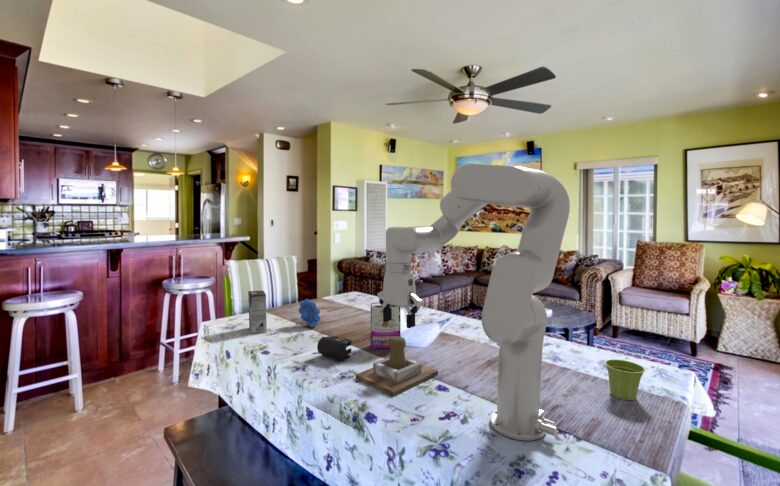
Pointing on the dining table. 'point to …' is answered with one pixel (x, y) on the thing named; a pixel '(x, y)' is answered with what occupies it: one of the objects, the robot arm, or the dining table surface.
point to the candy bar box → (383, 326)
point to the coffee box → (257, 311)
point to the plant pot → (624, 378)
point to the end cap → (334, 347)
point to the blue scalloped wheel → (309, 312)
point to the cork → (397, 353)
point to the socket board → (396, 376)
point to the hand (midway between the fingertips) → (398, 323)
